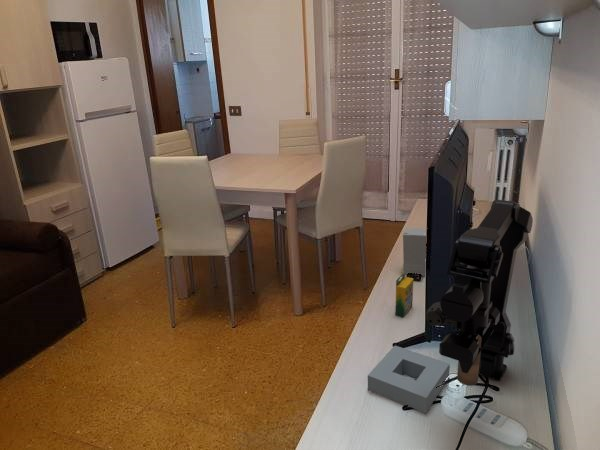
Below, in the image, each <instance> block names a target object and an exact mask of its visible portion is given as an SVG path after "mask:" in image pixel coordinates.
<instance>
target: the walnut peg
mask: <svg viewBox="0 0 600 450" xmlns="http://www.w3.org/2000/svg"><path fill="white" fill-rule="evenodd" d="M481 339H482V338H481V336H480V335H479V336H478V337H477V340H478V345H479V348H481ZM457 361H458V360H457ZM479 362H480V353H479V355H478V357H477V358H476V360H475V362H474V363H473V365H472V367H471V368H470V370H469V372H468V373H464V372H462V370H461V367H460V363H459V361H458V362H457V374H456V375H457V376H456V377H457V378H456V379H457V381H458V382H459V383H460V384H462V385H464V386H475V385H477V384H478V382H479V375H480V374H479Z"/></svg>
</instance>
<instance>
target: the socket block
mask: <svg viewBox="0 0 600 450" xmlns="http://www.w3.org/2000/svg"><path fill="white" fill-rule="evenodd" d="M450 366H451V363H450V362H446V361H443V360H440V359H439V358H438V359H437V358H435V357H432V356H429V355H426V354H423V353H419V352H417V351H412V350H410V349H407V348H403V347H401V346H397V345H394V346H393V347H392V348H390V350H389V351H388V352H387V354H386V355H385V356H384V357H383V358H382V359H381V360H380V361H379V362H378V363H377V365H375V367H373V369H372V370H371V371H370V372H369V373H368V374H367V390H368V391H370V392H372V393H374V394H377V395H380V396H382V397H385V398H387V399H390V400H393V401H394V402H397V403H400V404H402V405H404V406H407V405H408V406H407V407H409V406H410V407H409V408H411V409H415V410H417V411H419V412H422V413H424V414H427V412H428V411H429V409H430V407H431V406H432V405H433V403H434V402H435V400H436V398H437V397H438V395H439V394H440V392H441V391H442V389H443V388H444V386H441V387H437V386H438V385H439V384H440V383H442V382H443V381H445V380H446V378H447V377H448V376H449V377H450V368H451V367H450ZM402 374H405V375H407V376H411V377H413V378H416V380H415V379H412V378H410V377H407V376H404V375H402ZM436 387H437V388H436ZM433 401H434V402H433Z"/></svg>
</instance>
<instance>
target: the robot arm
mask: <svg viewBox="0 0 600 450" xmlns="http://www.w3.org/2000/svg"><path fill="white" fill-rule="evenodd" d="M533 221H534V219H533V216H532V212H530V211H529V210H527V209H525V208H523V207H522V206H520V203H519V202H516V201H514V200H513V201H512V200H506V199H505V200H504V199H497V200H495V199H494V200H493V201H492V203H491V206H490V209H489V211H488V212H487V214H486V215H485V216H484V218H483V220H482V221H481V222H480V223H479V225H478V226H477V227H476V228H472V229H467V230H466V231H465V232H464V233H462V234H461V235H460V237H459V238H457V239H456V241H455V243H454V245H453V251H452V255H451V258H450V262H449V265H448V269H447V275H448V276H453V277H455V278H454V283H453V284H452V285H451V287H449V289H448V290H447V291H446V293H444V295H443V296H442V297H441V299H440V301H437V302H434V303H432V304H431V305H430V307H429V308H427V310H426V313H425V314H426V317H425V321H426V322H428V324H429V325H430V326H432V327H437V326H443V325H444V326H445V325H446V326H447V325H450V329H453V330H459V331H458V332H457V333H456V334H455V333H452V332H451V333H449V334H447V335H445V337H444V338H443V339H442V341H441V342H440V343H439V346H438V347H439V348H438V349H439V350H438V351H439V352H438V354H440V355H441V356H442V357H446V358H449V359H453V360H455V361H459V363H460V367H461V370H462V372H464V373H468V372H469V370H470V368H471V367H472V365H473V363H474V362H475V360H476V358H477V357H478V355H479V353H480V362H479V372H480V374H482V375H481V376H483V375H484V376H483V377H486V378H489V379H492V380H495V381H498V382H500V381H502V378H503V376H504V374H505V372H507V371H506V370H507V369H508V365H507V364H506V363H504V362H505V361H504V360H505V358H507V359H508V358H509V357H510V356H513V355H515V343H514V342H515V339H514V337H513V333H511V327H512V324H511V322H510V319H509V317H508V315H507V306H508V300H509V296H510V295H509V294H510V290H511V284H512V278H513V274H514V273H513V272H514V267H515V263H516V256H517V252H518V249H519V248H520V247H521V246H522V245H523V244H524V243H525V242H526V241H527V239H528V235H529V234H530V233H531V231H532V229H533V223H534V222H533ZM457 264H460V265H464V266H460V265H457ZM465 266H467V267H465ZM479 335H480V336H481V338H482V339H481V348H479V345H478V340H477V337H478V336H479ZM480 374H479V375H480Z"/></svg>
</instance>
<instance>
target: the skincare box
mask: <svg viewBox="0 0 600 450" xmlns="http://www.w3.org/2000/svg"><path fill="white" fill-rule="evenodd" d="M426 229H427V228H415V227H406V228H405V229H404V231H403V233H402V247H403V249H402V250H403V251H402V252H403V255H402V256H403V272H404V271H405V276H407V274H408V273H415V274H416V273H417V274H421V275H422V276H421V277H426V276H425V259H426Z"/></svg>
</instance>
